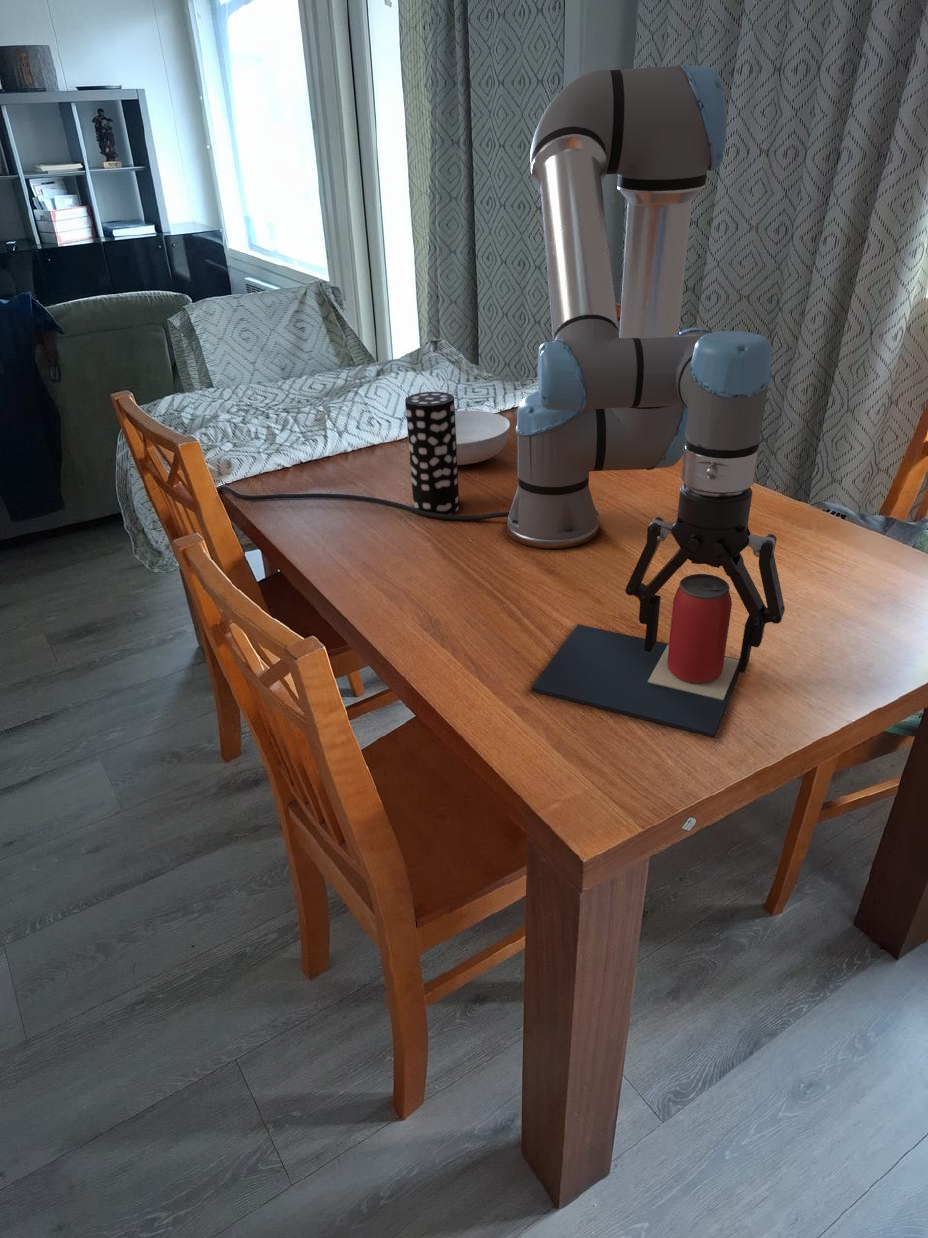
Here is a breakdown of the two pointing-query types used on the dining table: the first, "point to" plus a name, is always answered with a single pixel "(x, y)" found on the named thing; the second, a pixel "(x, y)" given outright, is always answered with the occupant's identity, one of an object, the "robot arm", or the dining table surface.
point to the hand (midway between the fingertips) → (695, 655)
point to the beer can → (699, 628)
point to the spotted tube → (433, 451)
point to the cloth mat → (635, 681)
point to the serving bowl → (479, 435)
